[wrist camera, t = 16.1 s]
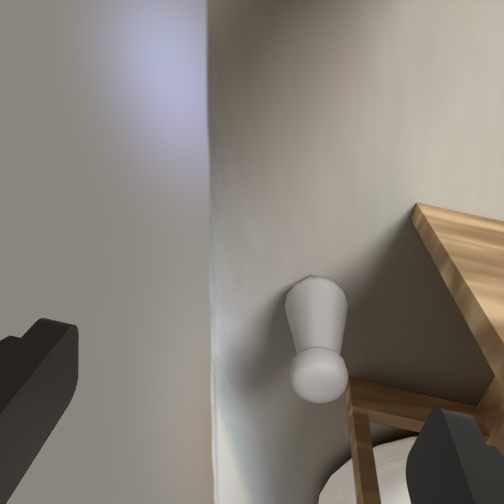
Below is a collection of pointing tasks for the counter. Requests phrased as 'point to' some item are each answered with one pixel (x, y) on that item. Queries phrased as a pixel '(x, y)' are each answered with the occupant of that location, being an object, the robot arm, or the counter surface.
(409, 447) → the plate
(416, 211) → the open-side box
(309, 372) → the salt shaker
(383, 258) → the counter surface
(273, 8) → the counter surface
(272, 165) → the counter surface
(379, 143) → the counter surface
